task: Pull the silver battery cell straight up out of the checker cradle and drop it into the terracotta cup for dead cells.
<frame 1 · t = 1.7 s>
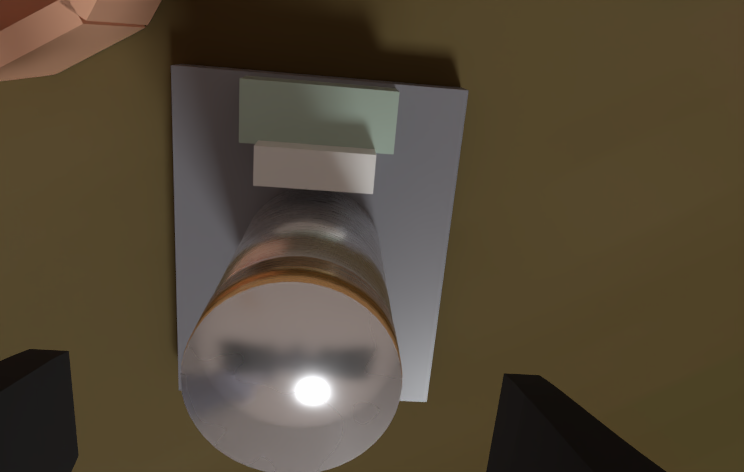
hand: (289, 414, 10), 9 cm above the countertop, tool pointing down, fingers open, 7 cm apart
battery cell: (312, 251, 17), point 1 cm above the countertop, touching checker cradle
checker cradle: (314, 240, 18), on the countertop
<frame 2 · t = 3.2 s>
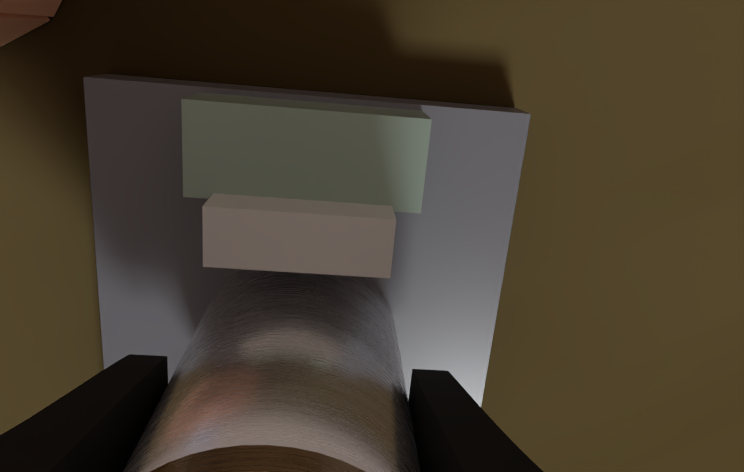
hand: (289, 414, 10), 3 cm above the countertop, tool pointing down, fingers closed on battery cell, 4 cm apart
battery cell: (300, 342, 12), point 1 cm above the countertop, touching checker cradle, gripper
checker cradle: (303, 320, 13), on the countertop
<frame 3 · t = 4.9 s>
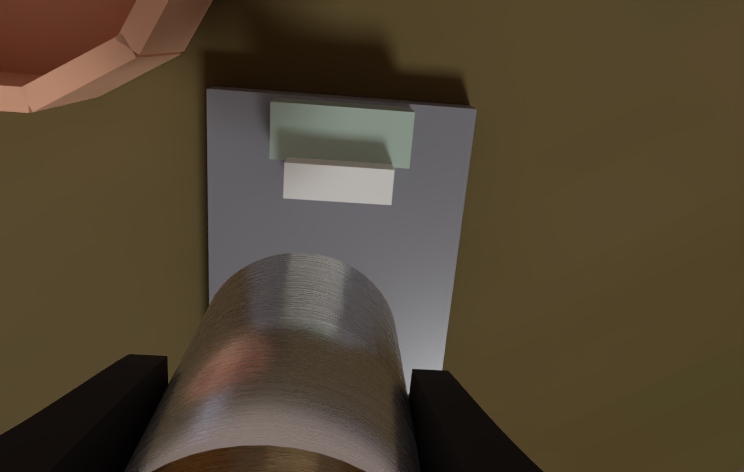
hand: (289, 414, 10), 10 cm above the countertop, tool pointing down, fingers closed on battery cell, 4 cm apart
battery cell: (300, 343, 12), point 8 cm above the countertop, touching gripper
checker cradle: (334, 246, 20), on the countertop
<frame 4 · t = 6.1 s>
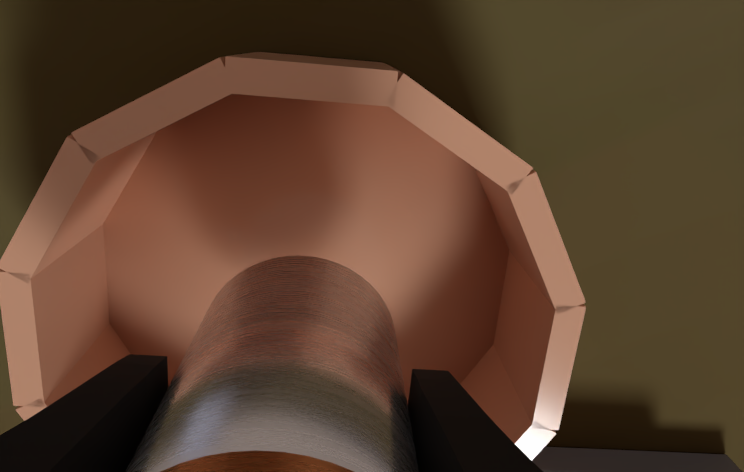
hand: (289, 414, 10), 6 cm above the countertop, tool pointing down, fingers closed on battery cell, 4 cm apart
battery cell: (299, 345, 12), point 4 cm above the countertop, touching gripper
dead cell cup: (309, 278, 15), on the countertop
when the fingers open (5 cm above the countertop, at t = 7.0 s): battery cell drops 2 cm, resting on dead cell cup.
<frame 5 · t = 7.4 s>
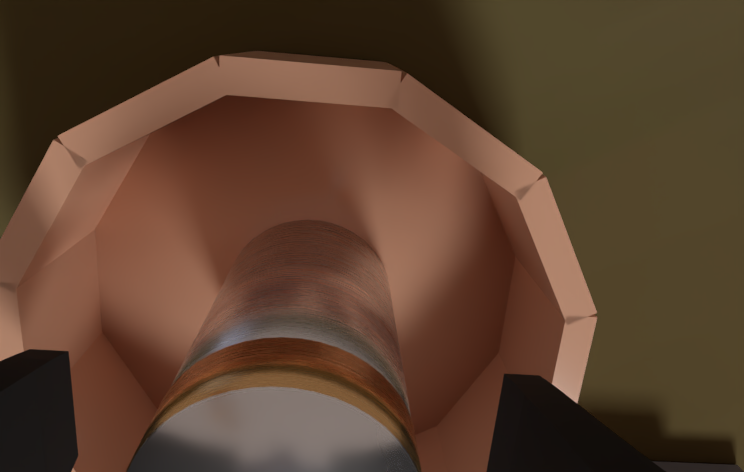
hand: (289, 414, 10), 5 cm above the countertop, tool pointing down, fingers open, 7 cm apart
battery cell: (309, 297, 14), point 1 cm above the countertop, touching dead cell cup
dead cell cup: (309, 284, 15), on the countertop
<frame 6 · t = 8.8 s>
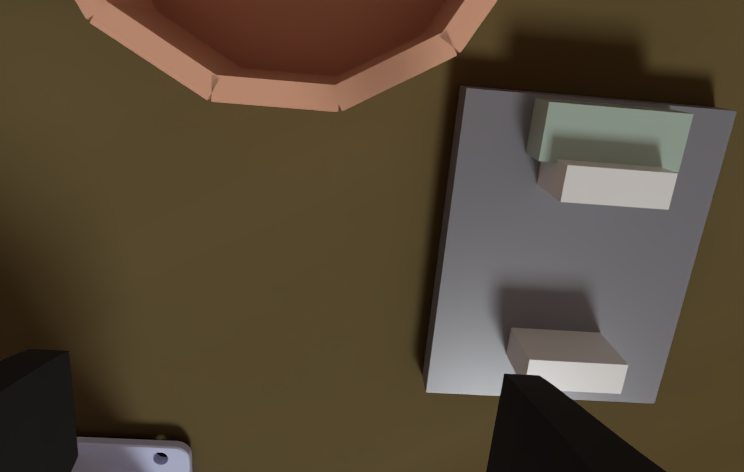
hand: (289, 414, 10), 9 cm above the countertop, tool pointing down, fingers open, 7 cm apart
checker cradle: (559, 250, 19), on the countertop
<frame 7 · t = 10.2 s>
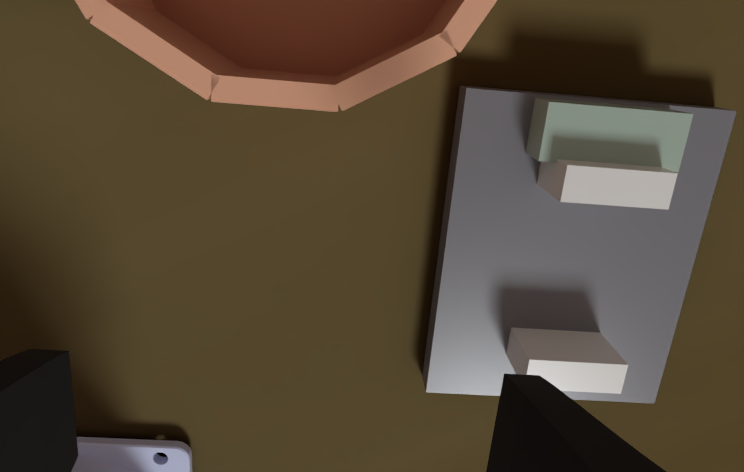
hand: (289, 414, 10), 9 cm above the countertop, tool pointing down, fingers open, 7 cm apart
checker cradle: (558, 250, 19), on the countertop
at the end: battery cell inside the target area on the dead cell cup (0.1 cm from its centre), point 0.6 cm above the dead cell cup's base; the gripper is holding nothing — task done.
